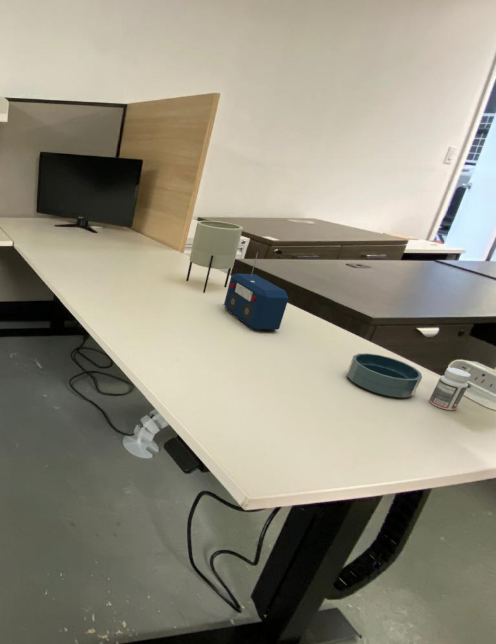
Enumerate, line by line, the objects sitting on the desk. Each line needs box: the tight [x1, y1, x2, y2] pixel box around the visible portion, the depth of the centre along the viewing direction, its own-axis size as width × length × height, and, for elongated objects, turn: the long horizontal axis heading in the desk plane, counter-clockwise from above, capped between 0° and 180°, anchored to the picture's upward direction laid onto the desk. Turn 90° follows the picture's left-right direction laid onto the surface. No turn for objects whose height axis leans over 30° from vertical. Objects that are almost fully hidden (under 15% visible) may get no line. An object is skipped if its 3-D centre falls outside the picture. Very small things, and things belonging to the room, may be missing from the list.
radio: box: [223, 251, 289, 331], centre depth 140 cm, size 21×9×20 cm, turn 6°
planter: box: [185, 220, 244, 294], centre depth 169 cm, size 15×16×23 cm
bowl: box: [346, 352, 423, 398], centre depth 109 cm, size 13×13×5 cm
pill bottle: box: [429, 367, 471, 411], centre depth 101 cm, size 5×5×8 cm
